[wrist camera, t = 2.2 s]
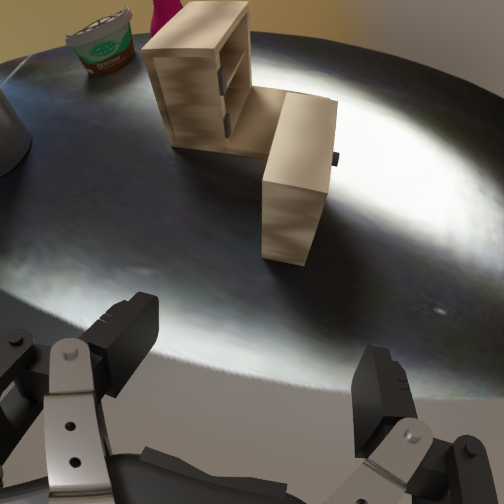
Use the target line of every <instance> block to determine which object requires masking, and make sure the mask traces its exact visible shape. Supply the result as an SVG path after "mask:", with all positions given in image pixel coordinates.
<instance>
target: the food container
mask: <svg viewBox="0 0 504 504" xmlns="http://www.w3.org/2000/svg"><path fill="white" fill-rule="evenodd" d="M125 7H126V9H125V10H123V11H120V12H119V13H116V14H114V15H112V16H109V17H106V18H102V19H100V20H97V21H95V22H93V23H92V24H90V25H89V26H87V27H86V28H84V29H83V30H81V31H79V32H77V33H75V34H73V35H67V34H66V37H65V39H66V45H67V46H72V47H73V49H74V50H75V52H76V54H77V56H78V57H79V59H80V61H81V62H82V64H83V66H84V67H85V69H86V71H87V72H88V74H89V75H91V76H103V75H107V74H110V73H113V72H115V71H117V70H119V69H121V68H122V67H124V66H125V65H127V64H128V63H129V62H130V61H131V60H132V59H133V57H134V55H135V51H134V46H133V40H132V34H131V27H130V20H131V18H132V13H131V11H130V9H129V8H128V7H127V6H126V5H125Z"/></svg>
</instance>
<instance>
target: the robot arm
mask: <svg viewBox="0 0 504 504" xmlns="http://www.w3.org/2000/svg"><path fill="white" fill-rule="evenodd" d="M31 141H32V136H31V134H30V132H29V131H28V129H27V128H26V127H25V125H24V124H23V122H22V121H21V119H20V118H19V116H18V115H17V113H16V112H15V110H14V109H13V107H12V106H11V104H10V103H9V101H8V100H7V98H6V97H5V95H4V93H3V92H2V90H1V89H0V176H2V175H4V174H6V173H8V172H9V171H11V170H12V169H13V168H14V167H15V166H16V165H17V164H18V163H19V162H20V161H21V160H22V159H23V157H24V156H25V154H26V153H27V151H28V149H29V147H30V145H31ZM158 332H159V300H158V297H157V296H154V295H150V294H147V293H143V292H137V293H136V294H135V295H134V296H133V297H132V298H131V299H130V300H129V301H126V300H123V301H121V302H119V303H117V304H114V305H113V306H112V307H111V308H110V309H108V310H107V311H106V313H105V314H103V315H102V316H101V317H100V319H98V320H97V321H96V322H95V323H94V324H93V325H92V326H91V327H90V328H89V329H88V330H87V331H85V332H84V333H83V334H82V335H81V336H80V337H79V338H78V339H76V338H68V339H63V340H60V341H58V342H57V343H55V344H54V345H53V347H50V346H45V345H39V344H35V343H34V339H33V336H32V334H31V333H30V332H29V331H27V330H24V329H14V330H11V331H8V332H7V333H5V334H4V335H3V336H1V337H0V396H1V394H2V393H3V391H4V390H5V389H6V388H7V387H8V386H9V385H10V383H11V382H12V381H14V383H15V386H14V387H13V388H12V389H11V390H10V392H9V393H8V394H7V395H6V396H5V397H4V398H3V400H2V401H1V402H0V504H306V503H305V502H303V501H302V500H300V499H298V498H297V497H295V496H293V495H290V494H288V493H286V489H287V484H285V483H279V482H273V481H268V480H262V479H257V478H252V477H216V476H211V475H208V474H206V473H204V472H203V471H201V470H199V469H197V468H195V467H193V466H192V465H190V464H188V463H186V462H184V461H183V460H181V459H179V458H177V457H174V456H171V455H168V454H165V453H162V452H159V451H157V450H154V449H151V448H149V447H145V448H144V450H143V452H142V454H130V453H129V454H128V453H127V454H116V455H113V453H112V450H111V446H110V442H109V438H108V433H107V429H106V424H105V419H104V413H103V408H102V403H101V399H102V398H103V396H104V395H105V394H106V395H108V396H111V397H113V398H116V397H117V395H118V394H119V393H120V391H121V390H122V388H123V387H124V386H125V384H126V383H127V381H128V380H129V379H130V377H131V376H132V374H133V373H134V371H135V370H136V369H137V367H138V366H139V365H140V363H141V362H142V360H143V359H144V358H145V356H146V355H147V354H148V352H149V351H150V349H151V348H152V347H153V345H154V344H155V342H156V340H157V337H158ZM351 393H352V406H353V423H354V444H355V458H366V460H365V461H364V462H363V463H362V464H361V465H360V466H359V467H358V469H357V470H356V471H355V472H354V473H353V474H352V475H351V476H350V477H349V478H348V479H347V480H346V481H345V482H344V483H343V484H342V485H341V486H340V487H339V488H338V489H337V490H336V491H335V492H334V493H333V494H332V495H331V496H330V497H329V498H328V499H327V500H326V501H325V502H324V503H323V504H397V502H398V501H399V499H400V498H401V496H402V495H403V494H404V493H408V494H411V495H412V504H498V500H497V495H496V490H495V485H494V481H493V477H492V472H491V469H490V465H489V460H488V457H487V453H486V449H485V447H484V445H483V444H482V443H481V441H480V440H478V439H477V438H475V437H473V436H470V435H463V436H460V437H458V438H457V439H456V440H455V442H454V443H449V442H446V441H442V440H439V439H436V438H434V437H433V434H432V432H431V430H430V428H429V427H428V425H426V424H425V423H424V422H423V421H420V420H418V418H417V413H416V409H415V406H414V402H413V398H412V394H411V391H410V387H409V383H408V380H407V376H406V373H405V370H404V369H403V368H402V366H401V365H400V364H399V363H398V361H392V359H391V355H390V351H389V348H388V347H386V346H380V345H374V344H368V345H367V347H366V349H365V351H364V353H363V355H362V358H361V360H360V362H359V365H358V367H357V369H356V371H355V373H354V376H353V380H352V385H351ZM43 409H44V432H45V449H46V461H47V470H48V476H47V477H43V478H40V479H36V480H33V481H29V482H25V483H22V484H18V485H14V486H10V487H6V488H3V481H2V479H3V468H2V465H3V464H4V463H5V461H6V460H7V458H8V457H9V455H10V454H11V452H12V451H13V450H14V448H15V447H16V445H17V444H18V443H19V441H20V440H21V438H22V437H23V436H24V434H25V433H26V431H27V430H28V429H29V427H30V426H31V425H32V423H33V422H34V420H35V419H36V418H37V416H38V415H39V414H40V413H41V411H42V410H43Z"/></svg>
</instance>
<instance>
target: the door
mask: <svg viewBox="0 0 504 504" xmlns="http://www.w3.org/2000/svg"><path fill="white" fill-rule="evenodd" d="M337 106H338V101H334V100H329V99H324V98H319V97H314V96H308V95H303V94H297V93H291V92H287V93H286V97H285V100H284V104H283V107H282V111H281V114H280V118H279V121H278V125H277V129H276V132H275V136H274V139H273V143H272V147H271V150H270V154H269V157H268V161H267V165H266V168H265V172H264V176H263V179H262V258H266V259H271V260H276V261H281V262H286V263H290V264H295V265H300V266H304V265H305V262H306V259H307V256H308V253H309V250H310V247H311V244H312V241H313V238H314V235H315V232H316V229H317V226H318V223H319V220H320V217H321V214H322V211H323V207H324V204H325V201H326V198H327V195H328V189H329V181H330V173H331V165H332V166H336V167H337V165H338V160H339V153H337V152H333V147H334V138H335V128H336V117H337Z"/></svg>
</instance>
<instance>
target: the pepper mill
mask: <svg viewBox="0 0 504 504" xmlns="http://www.w3.org/2000/svg"><path fill="white" fill-rule="evenodd" d="M153 4H154V12H153V17H152V21H151V29H150V32H151V37H152V38H153V36H154V35H155V34H156V33H157V32H158V31H159V30H160V29H161V28H162V27H163V26H164V25H165V24H166V23H167V22H169V21H170V20H171V19H172V18H173V17H174V16H175V15H176V14H177V13H178V12H179V11H180V10H181V9H182V8H183V6H182V4H181V2H180V0H153Z"/></svg>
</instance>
